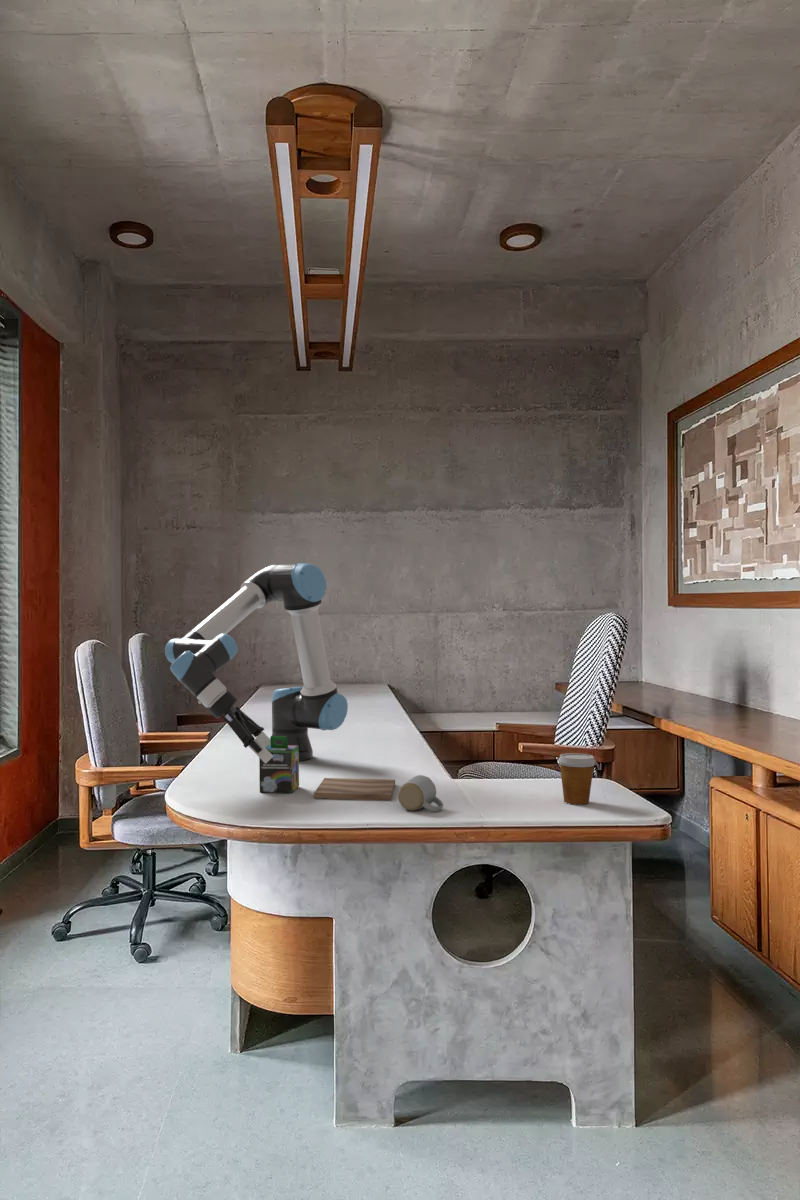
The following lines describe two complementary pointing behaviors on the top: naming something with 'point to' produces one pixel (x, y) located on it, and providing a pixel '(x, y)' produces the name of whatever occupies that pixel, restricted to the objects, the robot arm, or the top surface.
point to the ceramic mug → (419, 794)
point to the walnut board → (355, 789)
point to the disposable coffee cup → (576, 777)
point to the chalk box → (280, 767)
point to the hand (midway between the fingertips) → (272, 755)
